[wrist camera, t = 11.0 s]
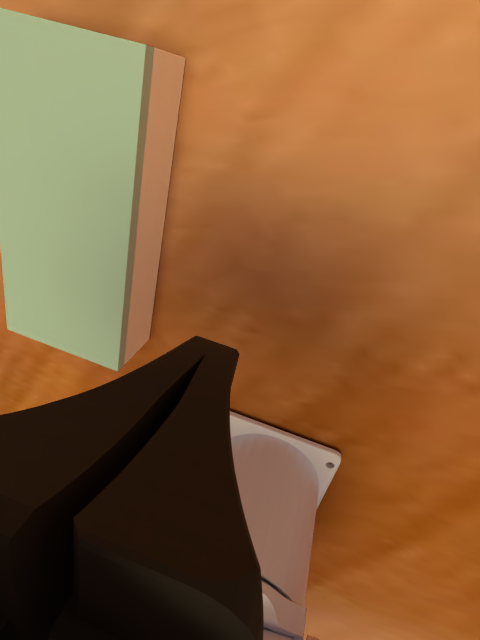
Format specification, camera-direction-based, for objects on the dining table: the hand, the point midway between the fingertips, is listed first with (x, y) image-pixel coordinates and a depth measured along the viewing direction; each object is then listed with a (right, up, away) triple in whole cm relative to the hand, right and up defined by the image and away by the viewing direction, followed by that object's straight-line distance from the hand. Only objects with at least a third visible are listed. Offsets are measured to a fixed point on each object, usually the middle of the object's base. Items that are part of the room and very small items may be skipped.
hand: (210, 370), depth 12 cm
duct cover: (-7, +6, +8) cm, 12 cm away
